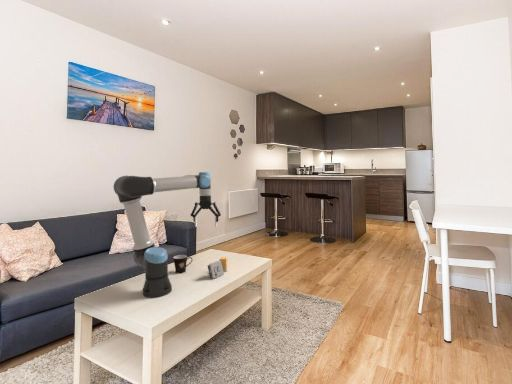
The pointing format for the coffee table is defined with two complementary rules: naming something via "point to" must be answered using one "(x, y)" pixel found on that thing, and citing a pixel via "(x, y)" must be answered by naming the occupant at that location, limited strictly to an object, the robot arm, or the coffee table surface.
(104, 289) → the coffee table surface
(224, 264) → the yellow upright square block
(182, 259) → the coffee mug
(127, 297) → the coffee table surface
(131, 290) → the coffee table surface
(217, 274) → the electrical switch
